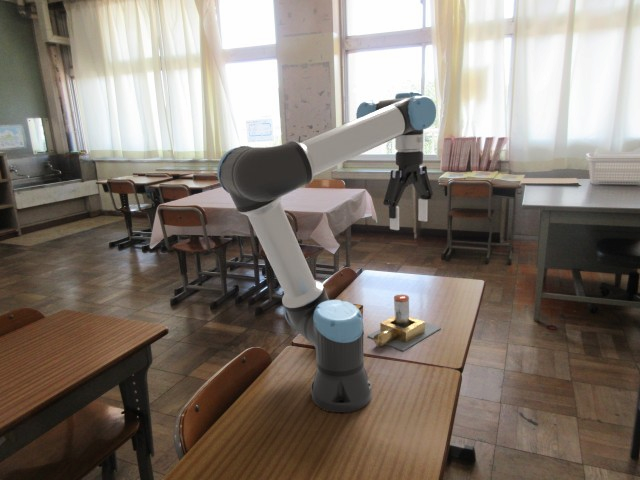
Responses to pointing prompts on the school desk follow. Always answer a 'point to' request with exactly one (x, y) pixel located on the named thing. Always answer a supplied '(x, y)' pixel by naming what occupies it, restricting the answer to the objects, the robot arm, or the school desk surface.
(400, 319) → the copper-capped silver cylinder
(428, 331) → the mat
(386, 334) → the fitting socket
